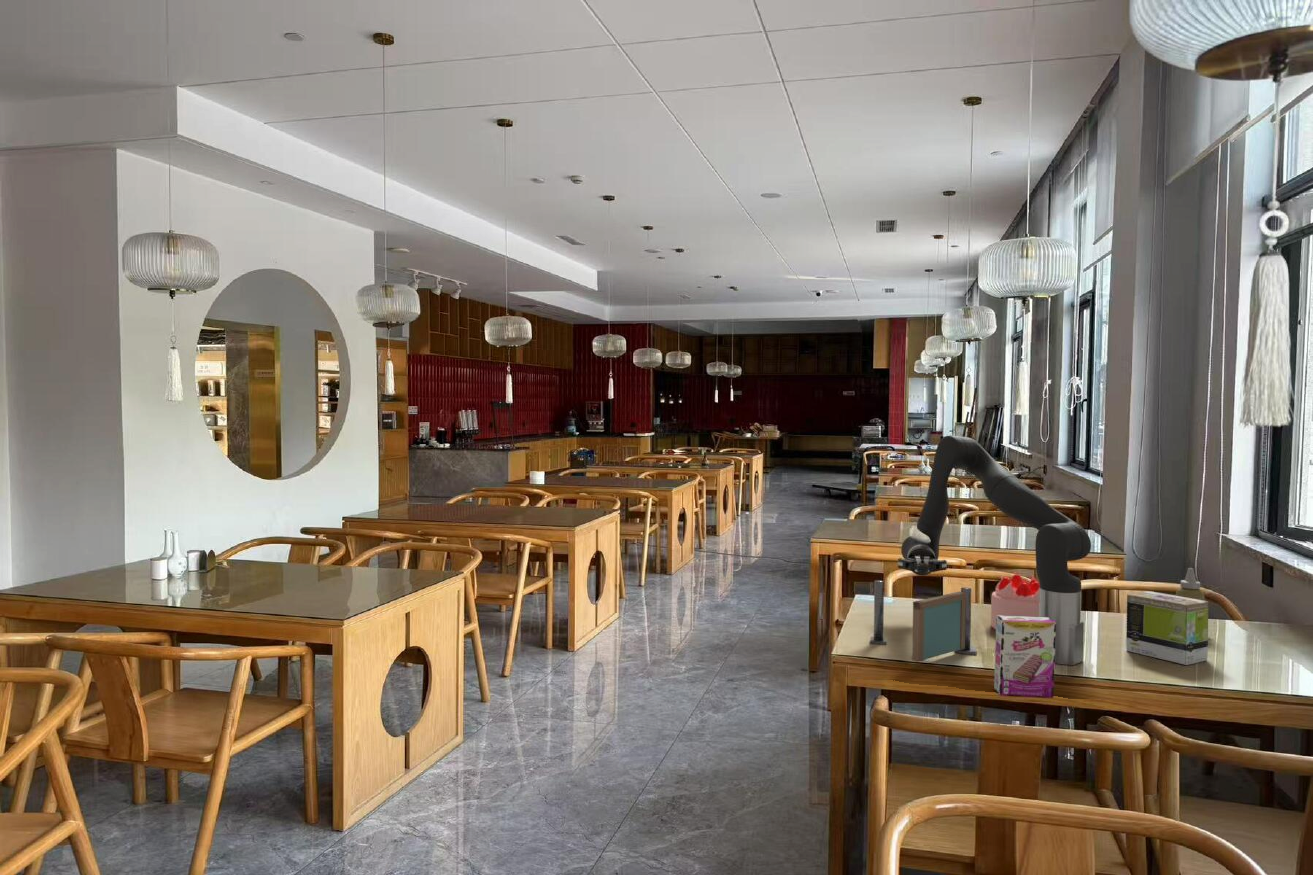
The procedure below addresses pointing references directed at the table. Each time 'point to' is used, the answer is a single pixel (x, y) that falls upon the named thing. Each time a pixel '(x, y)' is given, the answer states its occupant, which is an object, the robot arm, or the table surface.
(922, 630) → the gate leaf
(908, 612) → the table surface
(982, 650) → the table surface
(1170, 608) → the tea box
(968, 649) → the gate posts
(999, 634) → the candy bar box
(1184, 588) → the squeeze bottle
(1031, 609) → the cake
